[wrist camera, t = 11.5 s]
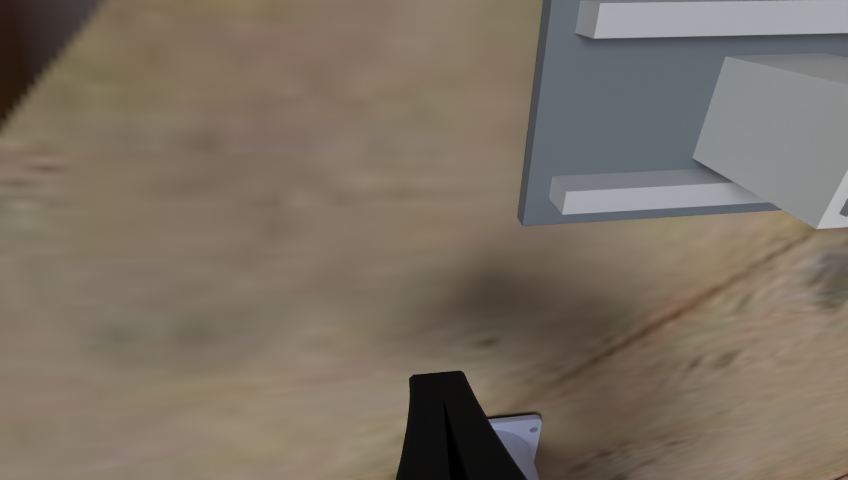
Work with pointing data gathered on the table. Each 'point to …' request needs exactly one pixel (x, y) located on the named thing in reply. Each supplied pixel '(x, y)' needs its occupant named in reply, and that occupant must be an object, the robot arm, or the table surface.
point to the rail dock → (647, 101)
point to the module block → (783, 132)
